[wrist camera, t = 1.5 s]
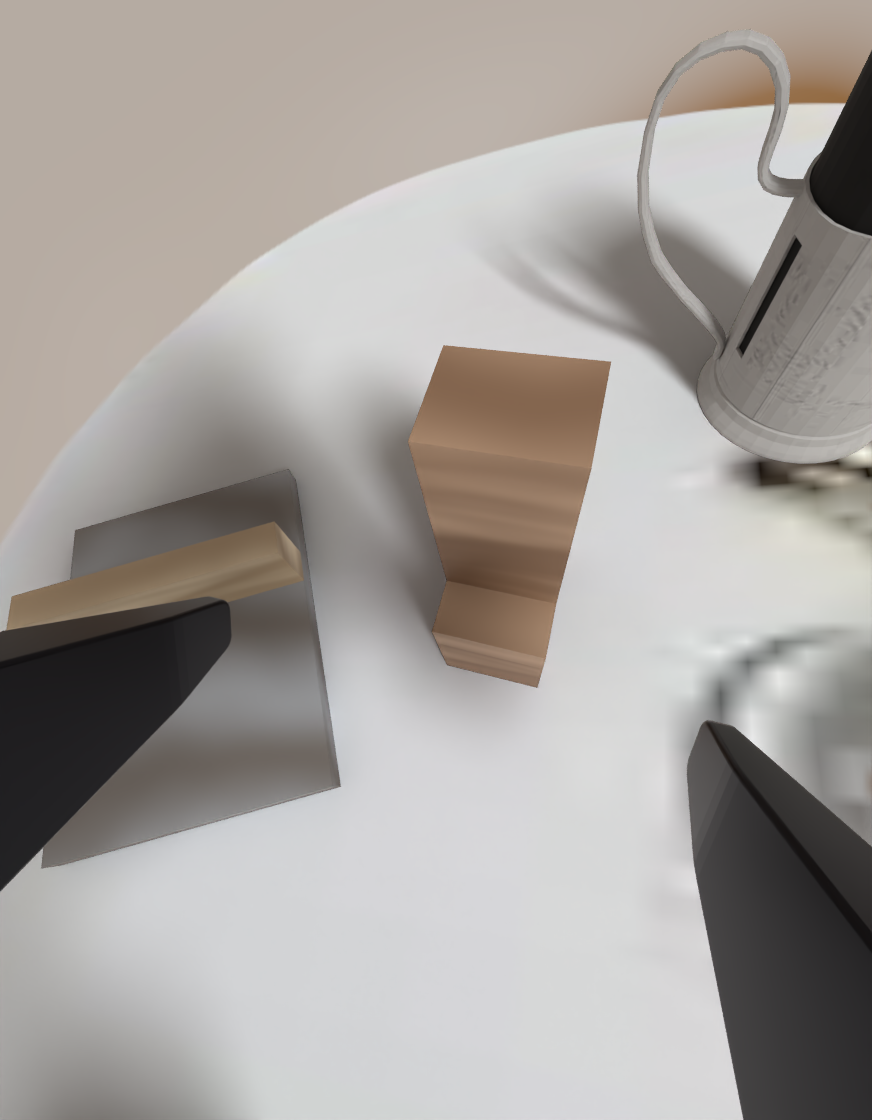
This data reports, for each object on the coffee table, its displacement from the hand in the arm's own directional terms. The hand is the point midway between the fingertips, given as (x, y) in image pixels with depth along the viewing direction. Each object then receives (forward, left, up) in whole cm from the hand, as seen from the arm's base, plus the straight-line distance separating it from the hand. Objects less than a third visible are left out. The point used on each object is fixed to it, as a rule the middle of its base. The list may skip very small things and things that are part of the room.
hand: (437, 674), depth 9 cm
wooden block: (+5, -3, -13) cm, 14 cm away
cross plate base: (+8, +12, -13) cm, 19 cm away
